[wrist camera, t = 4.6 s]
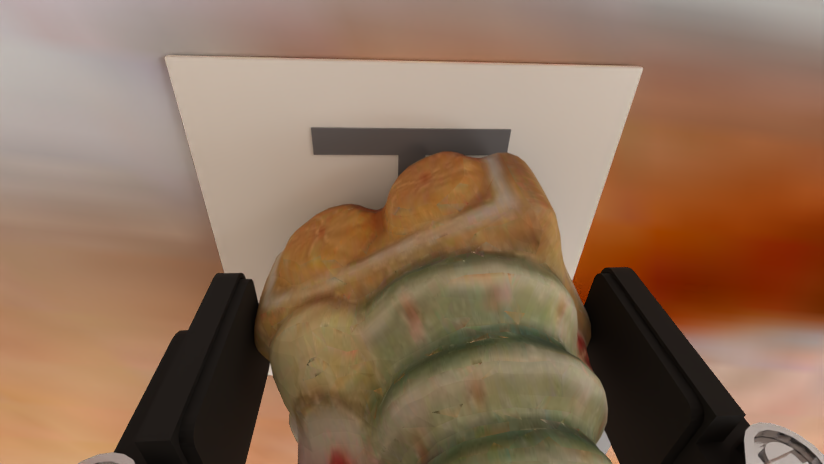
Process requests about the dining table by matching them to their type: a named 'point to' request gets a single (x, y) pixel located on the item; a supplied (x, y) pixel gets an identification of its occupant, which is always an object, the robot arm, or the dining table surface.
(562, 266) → the ornament
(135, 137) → the dining table surface
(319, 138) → the tile
